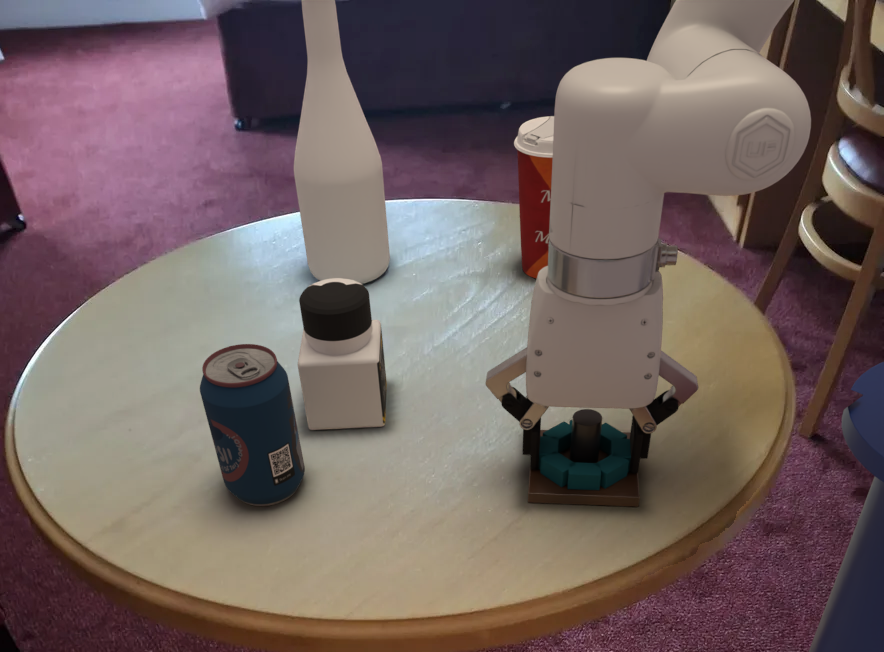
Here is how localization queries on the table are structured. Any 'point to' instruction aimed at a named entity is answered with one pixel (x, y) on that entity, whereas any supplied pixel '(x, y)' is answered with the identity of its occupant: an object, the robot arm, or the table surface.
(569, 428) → the ring
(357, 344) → the medicine bottle
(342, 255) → the wine bottle
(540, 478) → the ring post
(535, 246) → the coffee cup
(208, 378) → the soda can
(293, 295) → the table surface
